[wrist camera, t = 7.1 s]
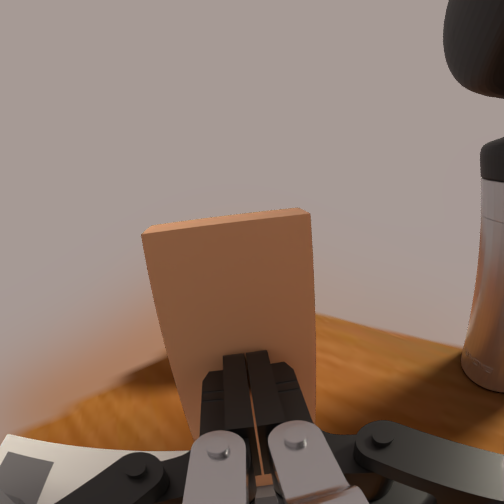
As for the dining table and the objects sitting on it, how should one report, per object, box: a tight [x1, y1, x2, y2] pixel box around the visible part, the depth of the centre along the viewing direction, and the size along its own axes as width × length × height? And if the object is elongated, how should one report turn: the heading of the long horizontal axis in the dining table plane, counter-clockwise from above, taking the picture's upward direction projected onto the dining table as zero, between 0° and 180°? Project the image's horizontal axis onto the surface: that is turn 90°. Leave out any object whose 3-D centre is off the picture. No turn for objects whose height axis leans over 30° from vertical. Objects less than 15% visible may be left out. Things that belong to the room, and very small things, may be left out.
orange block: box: [141, 208, 316, 504], centre depth 12 cm, size 5×3×14 cm, turn 95°
